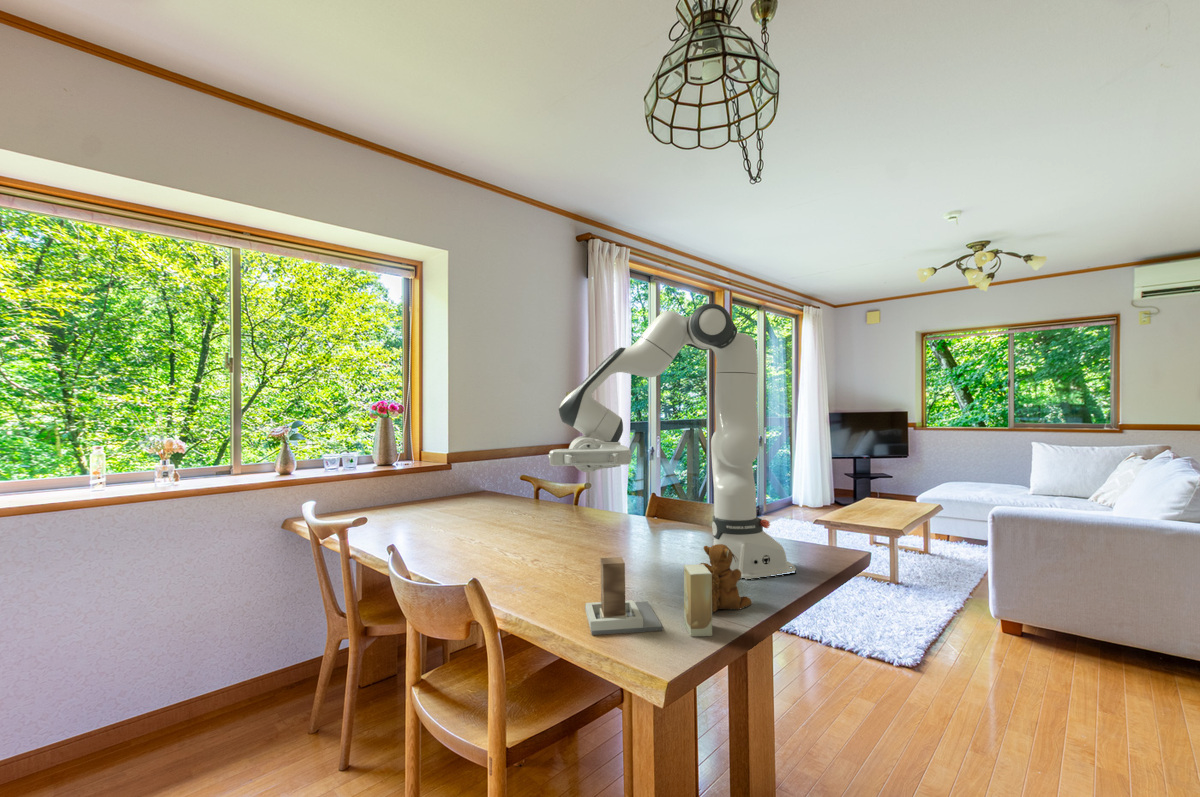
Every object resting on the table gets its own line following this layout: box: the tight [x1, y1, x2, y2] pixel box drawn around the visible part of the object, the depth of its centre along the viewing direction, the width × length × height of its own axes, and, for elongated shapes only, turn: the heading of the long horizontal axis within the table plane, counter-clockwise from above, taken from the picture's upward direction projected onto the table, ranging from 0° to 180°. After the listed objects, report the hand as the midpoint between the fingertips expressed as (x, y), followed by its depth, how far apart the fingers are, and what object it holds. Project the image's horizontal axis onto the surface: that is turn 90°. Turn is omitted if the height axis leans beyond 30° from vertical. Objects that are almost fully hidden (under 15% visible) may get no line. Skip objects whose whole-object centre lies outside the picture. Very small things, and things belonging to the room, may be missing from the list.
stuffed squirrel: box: [700, 544, 753, 614], centre depth 120 cm, size 10×14×13 cm
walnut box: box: [600, 556, 627, 619], centre depth 111 cm, size 5×5×12 cm
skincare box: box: [683, 563, 713, 638], centre depth 107 cm, size 6×4×12 cm
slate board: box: [584, 599, 663, 636], centre depth 113 cm, size 14×14×3 cm
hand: (593, 459), depth 127 cm, fingers open, 8 cm apart
